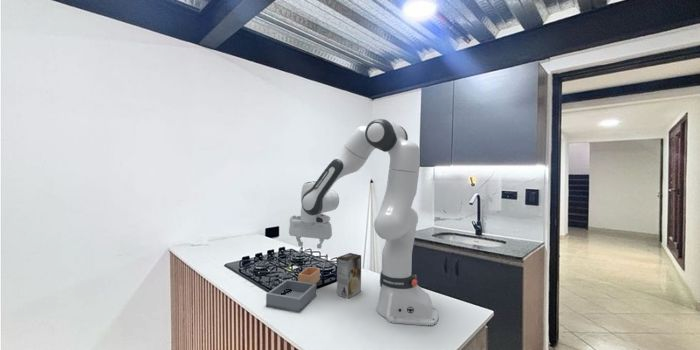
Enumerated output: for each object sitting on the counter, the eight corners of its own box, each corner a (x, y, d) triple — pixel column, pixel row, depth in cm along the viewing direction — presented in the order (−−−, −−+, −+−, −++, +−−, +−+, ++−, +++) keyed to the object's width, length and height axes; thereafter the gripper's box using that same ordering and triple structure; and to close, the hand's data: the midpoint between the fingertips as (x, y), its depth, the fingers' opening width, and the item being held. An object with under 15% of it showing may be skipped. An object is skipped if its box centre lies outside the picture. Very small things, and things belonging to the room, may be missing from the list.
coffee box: (349, 288, 126) (350, 252, 126) (361, 292, 122) (362, 255, 122) (336, 295, 119) (336, 257, 119) (348, 299, 115) (349, 260, 115)
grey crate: (316, 296, 118) (316, 284, 118) (299, 313, 103) (299, 299, 103) (286, 291, 122) (286, 279, 122) (266, 306, 107) (266, 293, 107)
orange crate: (319, 281, 133) (319, 268, 133) (310, 289, 124) (310, 275, 124) (308, 279, 135) (308, 266, 135) (298, 287, 126) (298, 274, 126)
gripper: (286, 216, 129) (286, 246, 129) (328, 219, 123) (327, 251, 123) (293, 214, 135) (292, 243, 135) (333, 217, 129) (332, 247, 129)
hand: (309, 247), depth 129 cm, fingers open, 8 cm apart
